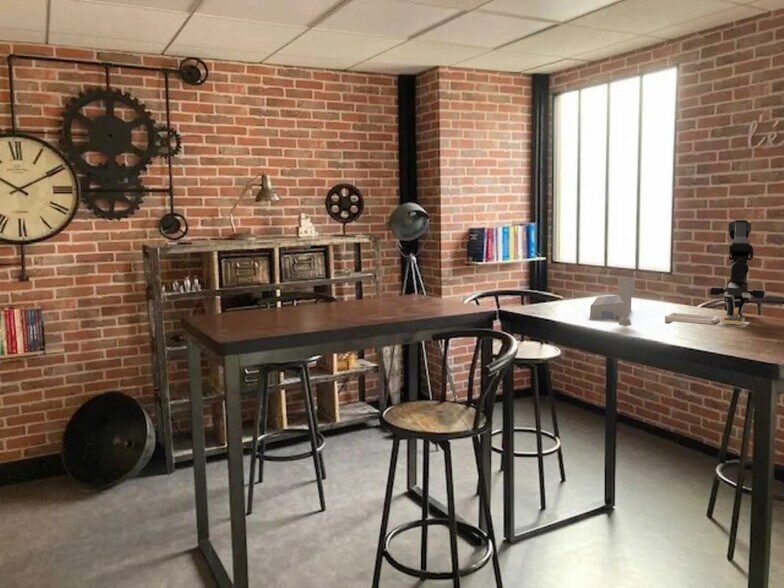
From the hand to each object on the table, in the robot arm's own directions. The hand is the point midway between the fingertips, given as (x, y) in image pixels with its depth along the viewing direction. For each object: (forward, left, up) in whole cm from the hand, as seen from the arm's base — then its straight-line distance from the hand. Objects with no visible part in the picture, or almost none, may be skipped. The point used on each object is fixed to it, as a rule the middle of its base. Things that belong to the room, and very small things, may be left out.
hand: (736, 314), depth 255 cm
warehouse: (+1, -48, -5) cm, 48 cm away
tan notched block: (+5, 0, -2) cm, 5 cm away
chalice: (+23, -35, -4) cm, 43 cm away
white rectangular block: (+5, 0, -4) cm, 7 cm away
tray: (+5, -15, -4) cm, 16 cm away
